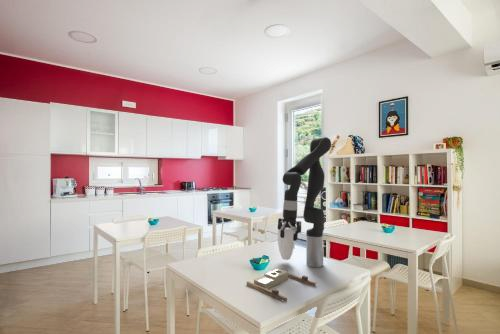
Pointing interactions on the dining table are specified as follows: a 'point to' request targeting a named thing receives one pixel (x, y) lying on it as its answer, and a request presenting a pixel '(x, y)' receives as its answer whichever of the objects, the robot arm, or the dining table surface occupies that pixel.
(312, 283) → the brown flat piece
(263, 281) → the electrical outlet
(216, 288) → the dining table surface
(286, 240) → the cup
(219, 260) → the dining table surface
